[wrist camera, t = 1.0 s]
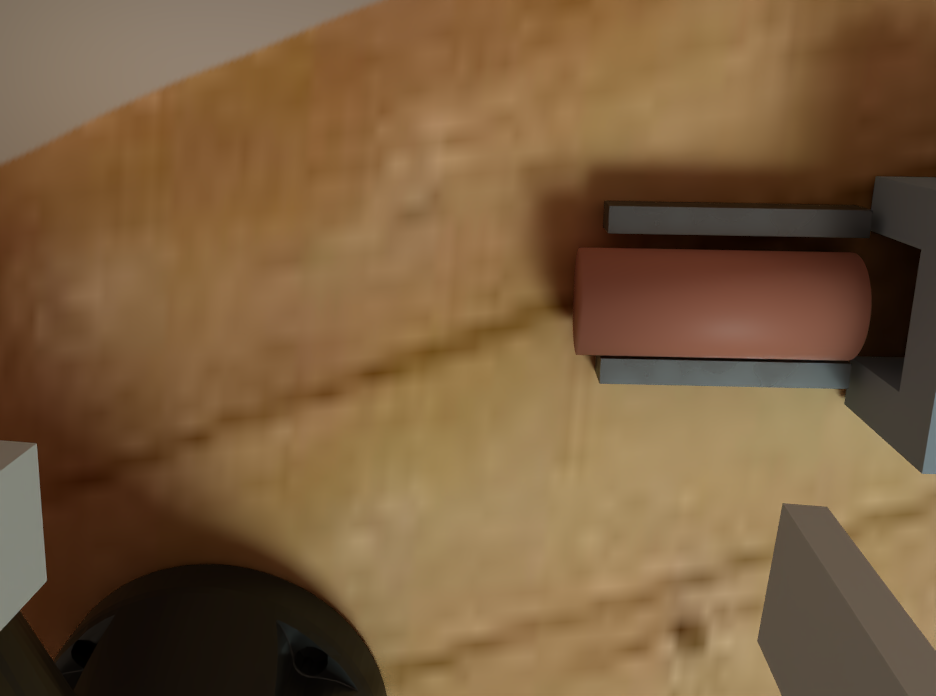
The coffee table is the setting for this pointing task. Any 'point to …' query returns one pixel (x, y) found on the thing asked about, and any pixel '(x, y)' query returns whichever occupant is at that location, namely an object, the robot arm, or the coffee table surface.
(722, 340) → the dowel
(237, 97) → the coffee table surface
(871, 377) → the block
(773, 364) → the rails
